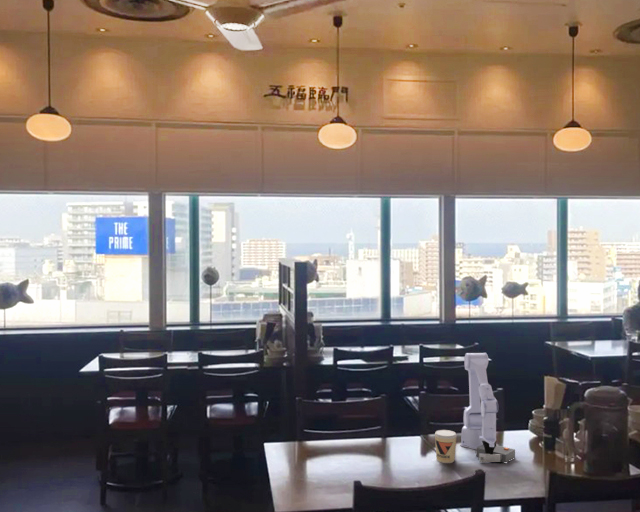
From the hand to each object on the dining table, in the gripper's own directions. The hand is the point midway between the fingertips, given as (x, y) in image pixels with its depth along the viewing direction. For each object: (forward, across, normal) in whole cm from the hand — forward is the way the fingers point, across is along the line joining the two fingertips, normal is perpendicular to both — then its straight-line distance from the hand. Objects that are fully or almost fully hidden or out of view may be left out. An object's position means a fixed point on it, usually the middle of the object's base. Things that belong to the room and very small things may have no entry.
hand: (488, 458), depth 275 cm
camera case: (+1, -5, +4) cm, 7 cm away
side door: (+1, +2, 0) cm, 2 cm away
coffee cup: (+2, 0, -19) cm, 19 cm away
